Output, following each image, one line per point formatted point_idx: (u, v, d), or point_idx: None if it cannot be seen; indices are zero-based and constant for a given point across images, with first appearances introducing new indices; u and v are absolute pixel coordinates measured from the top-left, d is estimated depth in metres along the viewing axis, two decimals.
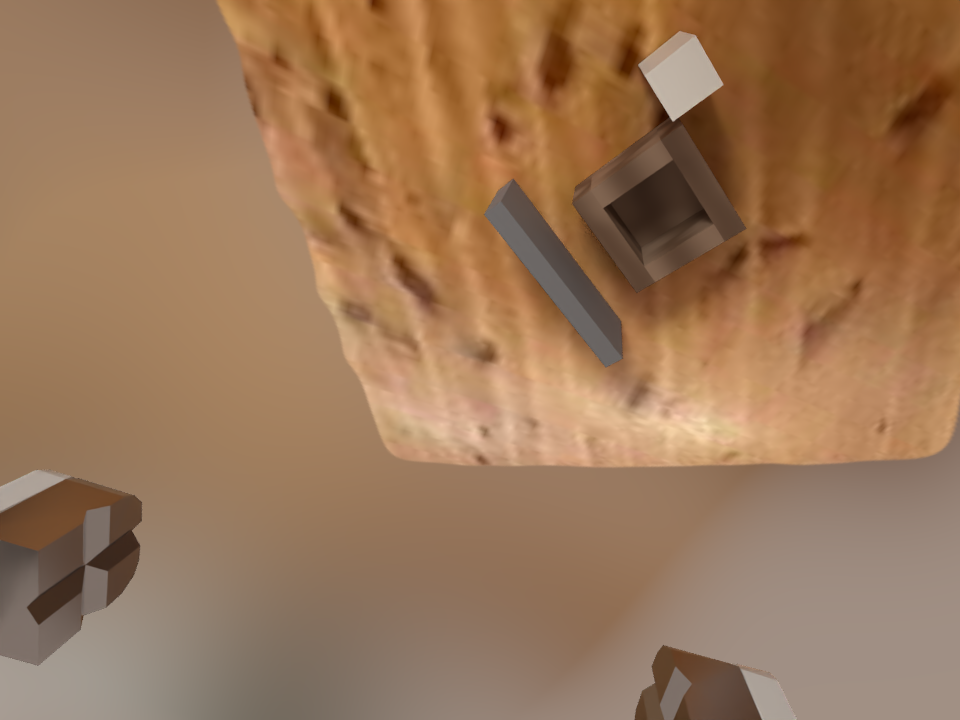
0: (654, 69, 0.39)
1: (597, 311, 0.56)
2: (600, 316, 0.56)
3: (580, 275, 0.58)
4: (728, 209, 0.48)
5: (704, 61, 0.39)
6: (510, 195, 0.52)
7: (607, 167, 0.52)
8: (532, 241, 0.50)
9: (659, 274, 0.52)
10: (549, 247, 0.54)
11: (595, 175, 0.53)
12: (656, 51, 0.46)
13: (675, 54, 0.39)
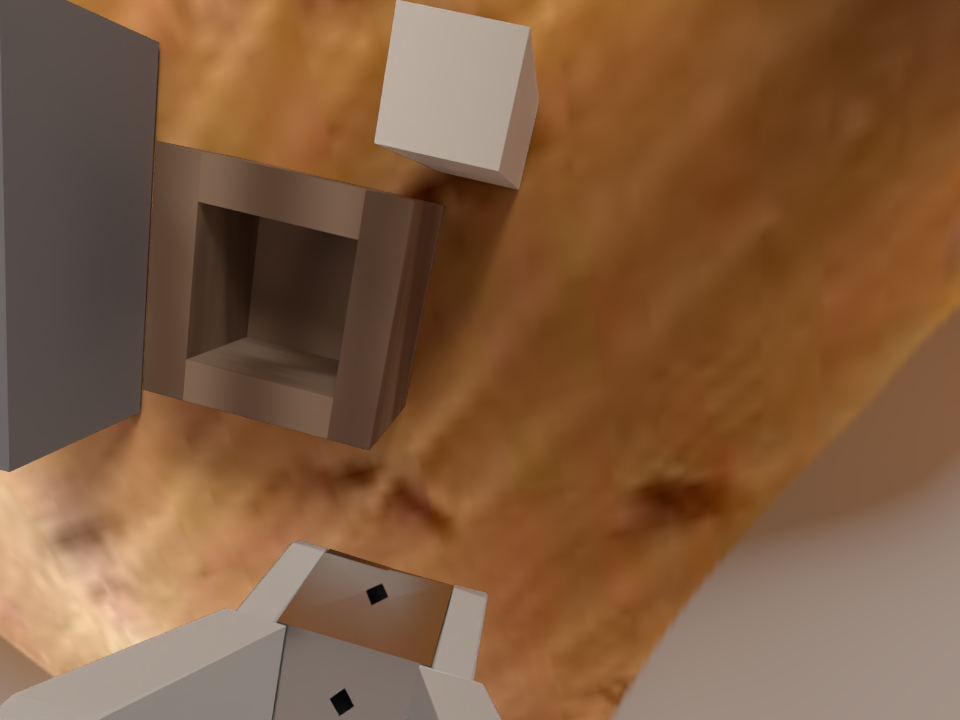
0: (421, 8, 0.16)
1: (68, 360, 0.26)
2: (63, 371, 0.26)
3: (120, 285, 0.28)
4: (368, 396, 0.24)
5: (505, 94, 0.16)
6: (83, 23, 0.23)
7: (290, 170, 0.26)
8: (4, 113, 0.20)
9: (198, 393, 0.25)
10: (74, 179, 0.24)
11: (267, 164, 0.26)
12: None
13: (472, 22, 0.16)
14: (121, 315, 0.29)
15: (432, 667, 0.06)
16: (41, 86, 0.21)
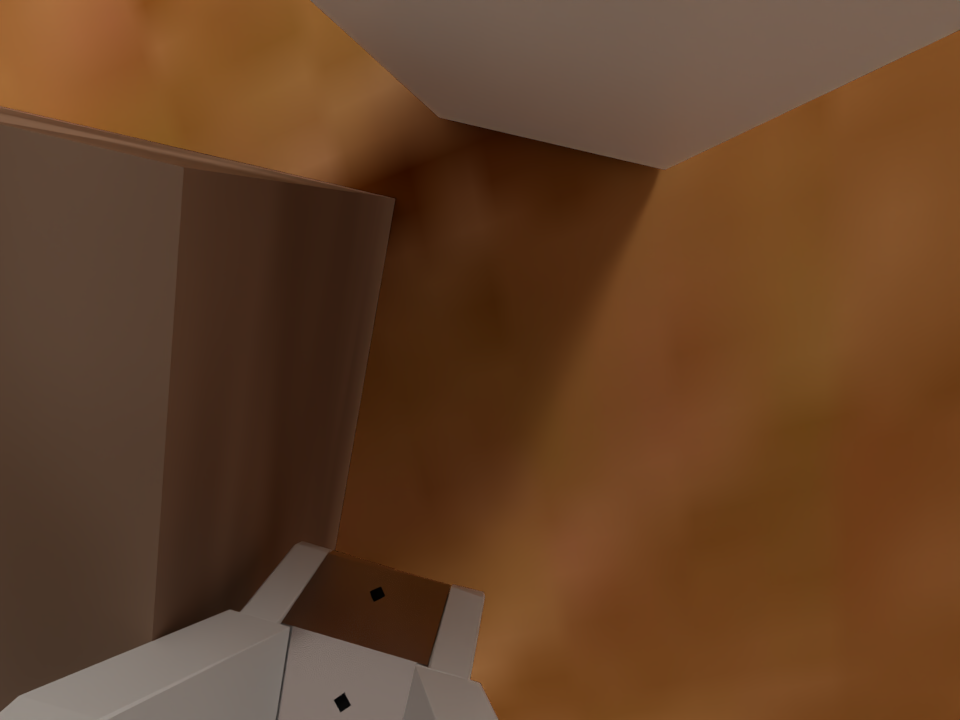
0: None
1: None
2: None
3: None
4: None
5: None
6: None
7: None
8: None
9: None
10: None
11: None
12: None
13: None
14: None
15: (429, 666, 0.06)
16: None
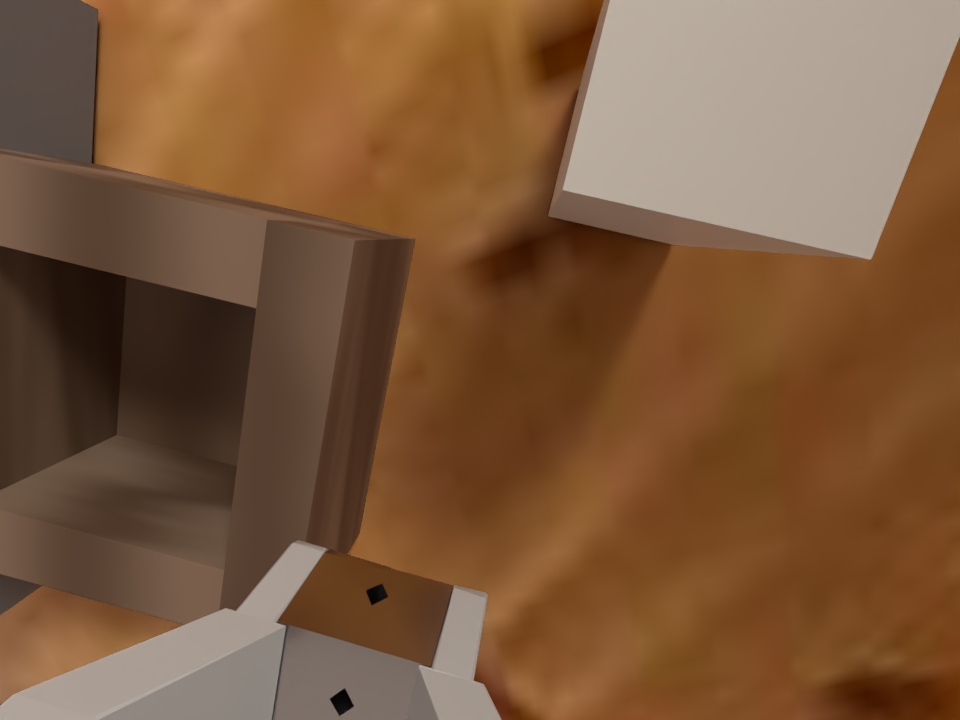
0: None
1: None
2: None
3: None
4: None
5: (917, 74, 0.06)
6: None
7: (167, 184, 0.16)
8: None
9: None
10: None
11: (132, 175, 0.16)
12: None
13: None
14: None
15: (432, 667, 0.06)
16: None
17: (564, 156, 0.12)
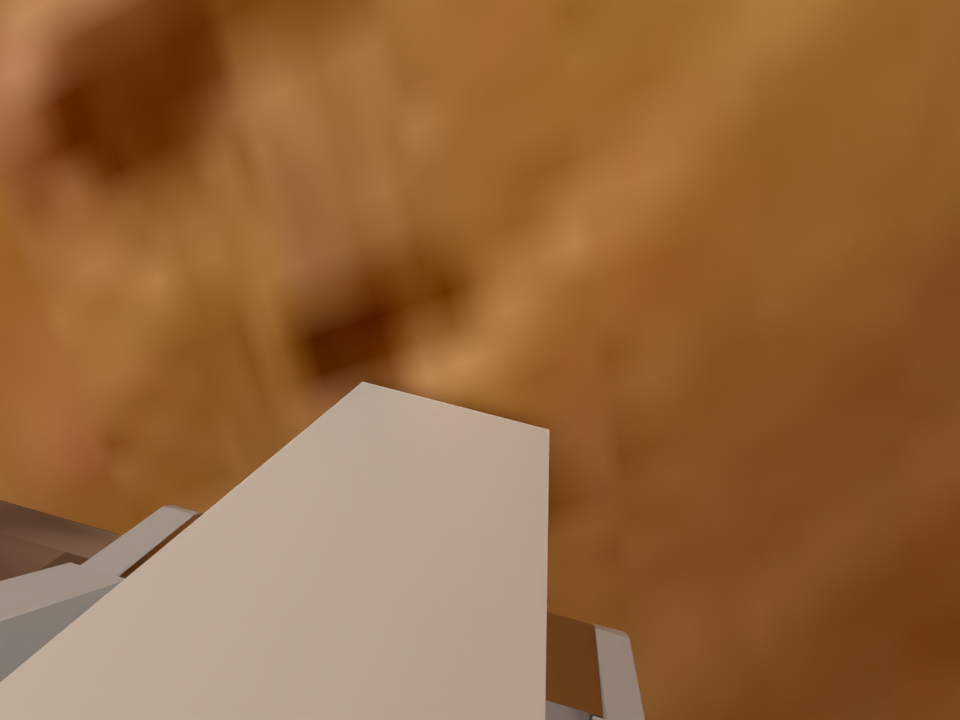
0: None
1: None
2: None
3: None
4: None
5: None
6: None
7: None
8: None
9: None
10: None
11: None
12: (427, 423, 0.10)
13: None
14: None
15: (605, 718, 0.06)
16: None
17: None
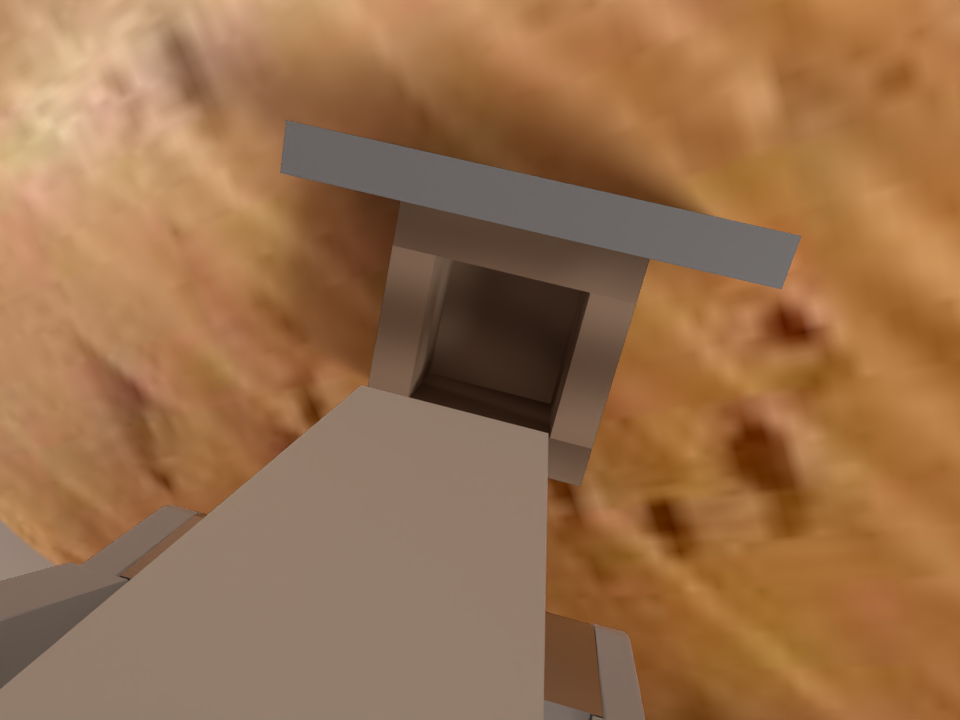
0: None
1: None
2: None
3: None
4: None
5: None
6: None
7: None
8: None
9: (400, 264, 0.24)
10: None
11: None
12: (426, 427, 0.10)
13: None
14: None
15: (605, 718, 0.06)
16: None
17: None
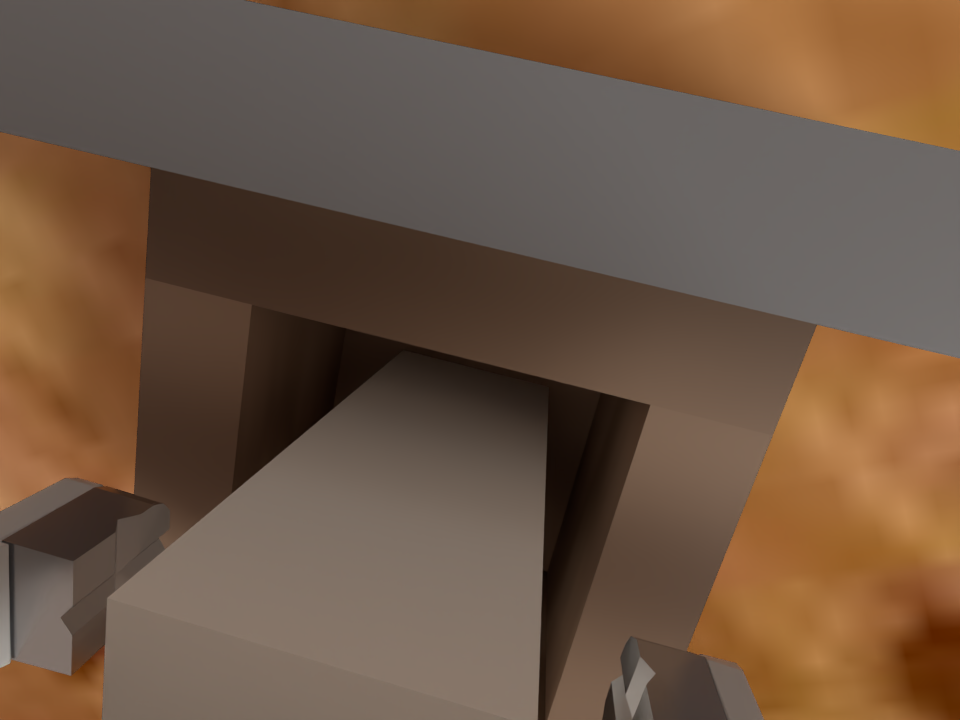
0: (184, 629, 0.05)
1: None
2: None
3: None
4: None
5: None
6: None
7: None
8: (909, 345, 0.06)
9: (169, 324, 0.10)
10: None
11: None
12: (456, 378, 0.13)
13: (348, 687, 0.05)
14: None
15: None
16: None
17: None
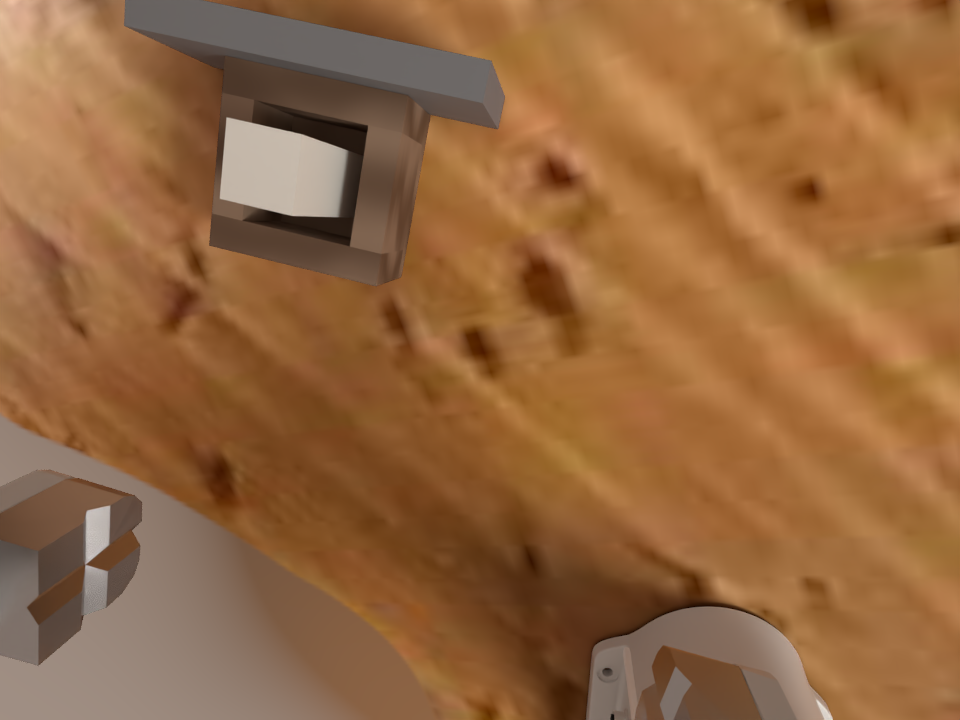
0: (240, 122, 0.27)
1: None
2: (224, 56, 0.32)
3: None
4: (246, 247, 0.34)
5: (291, 171, 0.27)
6: (480, 114, 0.31)
7: (413, 171, 0.35)
8: (394, 84, 0.28)
9: (229, 107, 0.32)
10: None
11: (418, 150, 0.35)
12: None
13: (269, 130, 0.27)
14: None
15: None
16: (425, 96, 0.30)
17: None
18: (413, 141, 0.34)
